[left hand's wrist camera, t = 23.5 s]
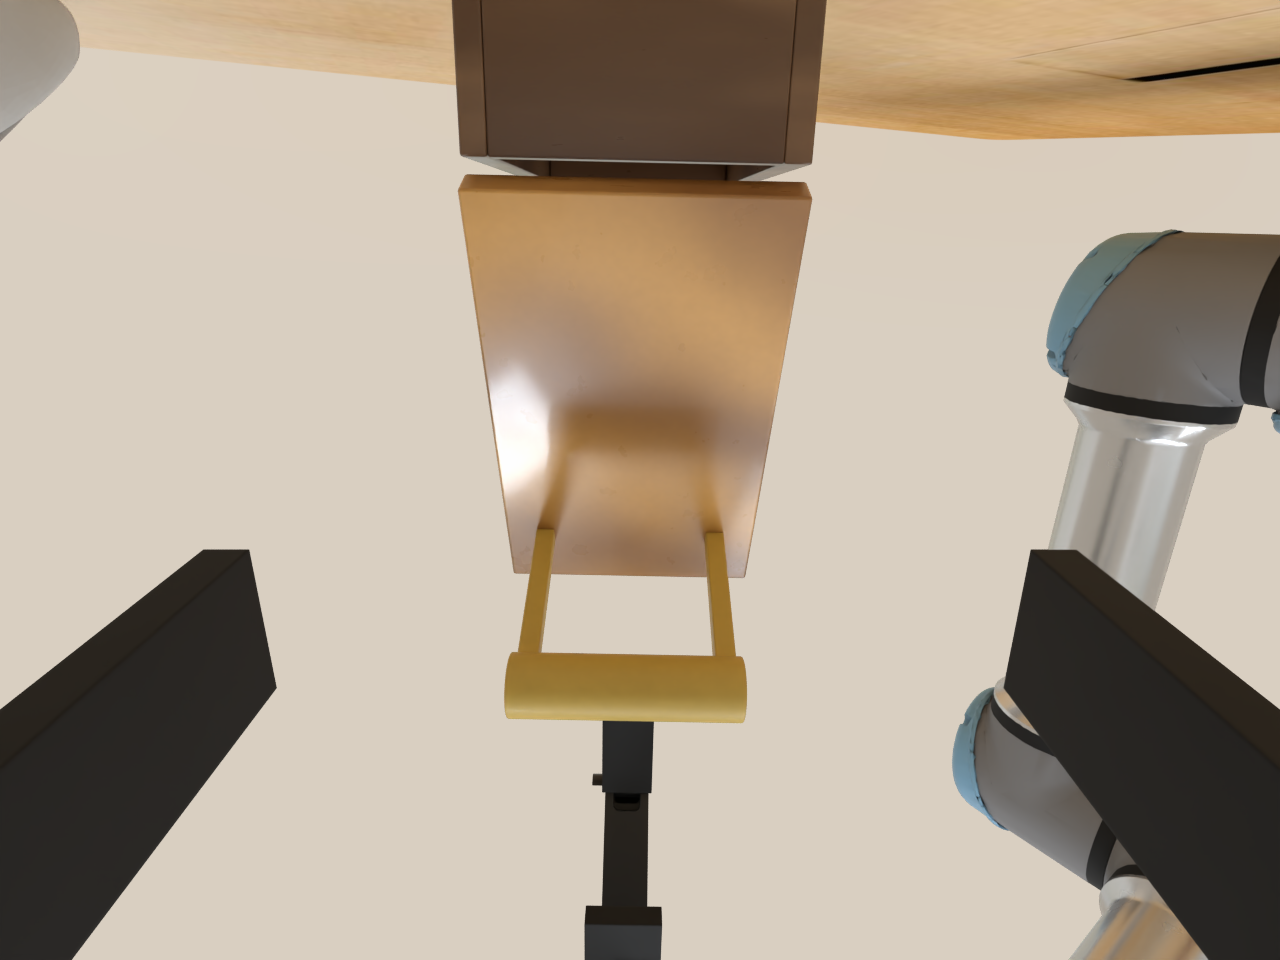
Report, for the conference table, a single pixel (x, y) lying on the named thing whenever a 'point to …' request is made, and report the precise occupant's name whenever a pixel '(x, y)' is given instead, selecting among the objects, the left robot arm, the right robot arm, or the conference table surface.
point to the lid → (631, 407)
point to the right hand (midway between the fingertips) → (626, 778)
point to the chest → (638, 86)
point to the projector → (33, 55)
